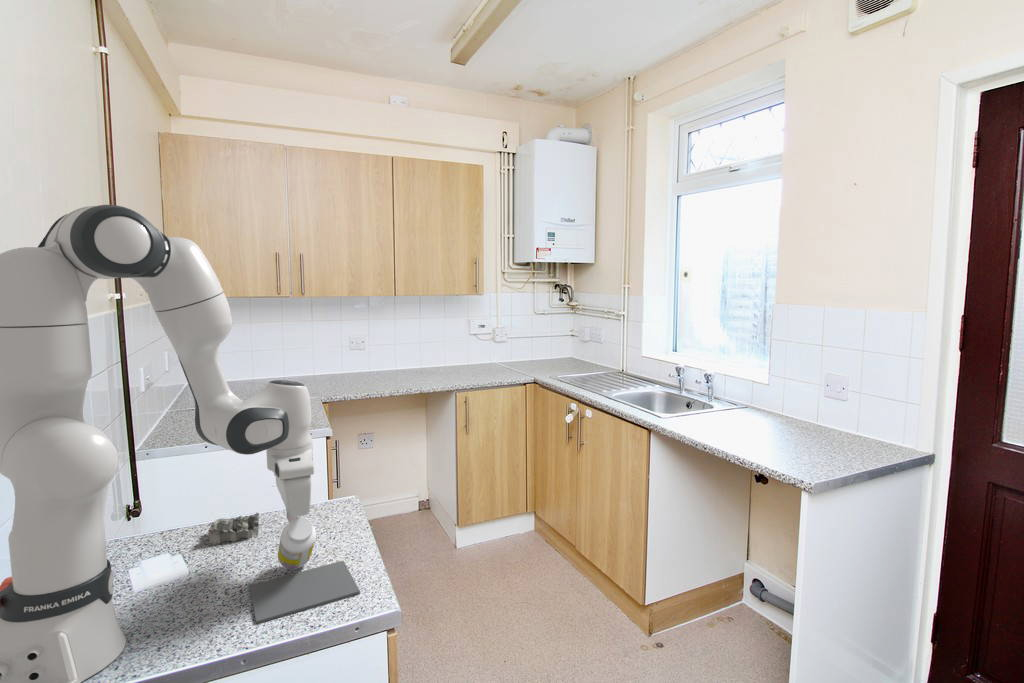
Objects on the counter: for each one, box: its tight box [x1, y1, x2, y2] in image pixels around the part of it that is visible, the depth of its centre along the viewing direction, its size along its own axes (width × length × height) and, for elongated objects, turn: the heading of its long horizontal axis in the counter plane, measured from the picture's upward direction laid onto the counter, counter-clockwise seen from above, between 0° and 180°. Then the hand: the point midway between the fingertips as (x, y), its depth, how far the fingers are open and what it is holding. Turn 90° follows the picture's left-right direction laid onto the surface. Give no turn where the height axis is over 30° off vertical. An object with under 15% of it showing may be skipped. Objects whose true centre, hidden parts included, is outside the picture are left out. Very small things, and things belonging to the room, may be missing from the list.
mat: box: [249, 560, 361, 625], centre depth 101 cm, size 18×13×1 cm
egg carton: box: [207, 512, 260, 545], centre depth 124 cm, size 11×8×4 cm
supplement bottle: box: [277, 516, 317, 570], centre depth 107 cm, size 7×7×13 cm
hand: (292, 521), depth 110 cm, fingers closed
